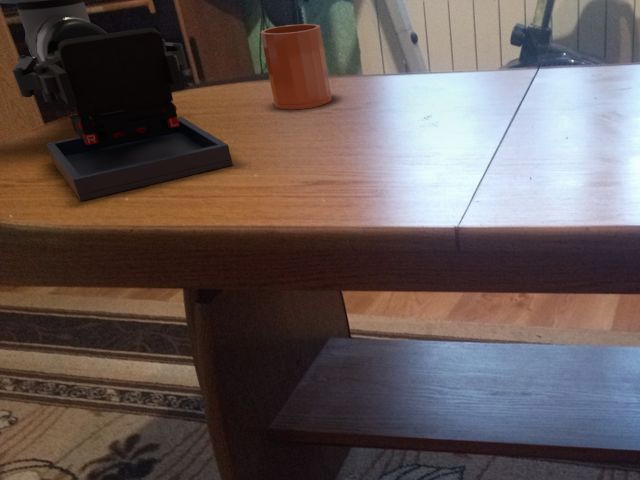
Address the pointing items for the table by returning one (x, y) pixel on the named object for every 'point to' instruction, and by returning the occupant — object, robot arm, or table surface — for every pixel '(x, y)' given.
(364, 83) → the table surface
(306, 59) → the terracotta cup
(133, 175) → the dark tray
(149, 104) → the handheld gaming console
